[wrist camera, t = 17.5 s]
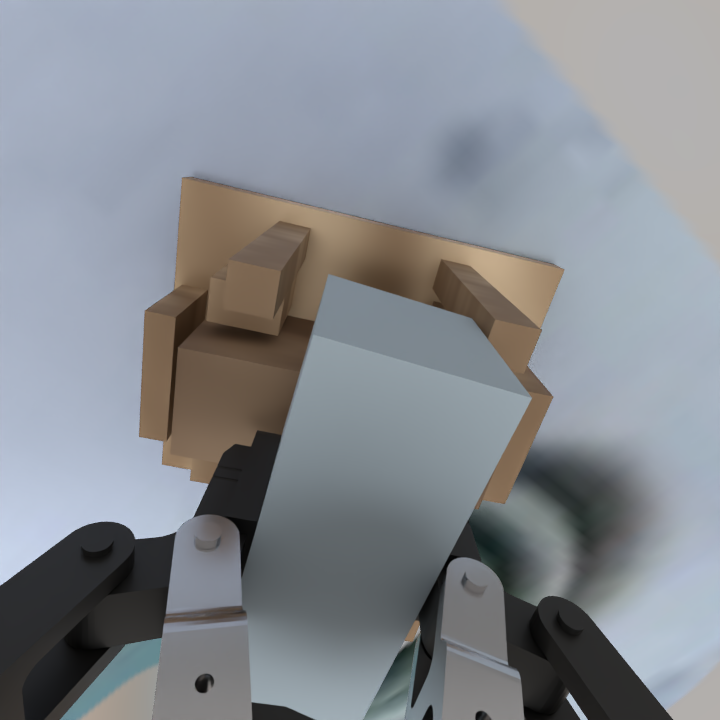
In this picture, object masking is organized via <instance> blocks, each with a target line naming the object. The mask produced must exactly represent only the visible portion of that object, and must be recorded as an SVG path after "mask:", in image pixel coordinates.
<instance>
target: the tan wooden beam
mask: <svg viewBox="0 0 720 720" xmlns="http://www.w3.org/2000/svg"><path fill="white" fill-rule="evenodd" d="M206 319H207V318H206ZM206 319H205V320H204V321H203V322H202V323H201V324H200V325H199V326H198V327H197V328H196V329H195V330H194V331H193V332H192V334H191V335H190V336H189V337H188V338H187V339H186V340H185V341H184V342H183V343H182V344H181V345H180V346H179V347H178V354H177V368H176V381H175V395H174V408H173V422H172V435H171V449H170V454H171V455H177V456H182V457H188V458H193V459H199V460H205V461H210V462H216V463H219V461H220V459H221V456H222V454H223V453H224V452H225V451H226V450H228V449H229V448H230V447H232V446H233V445H234V444H240V445H245V446H250V447H251V445H252V443H253V440H254V437H255V434H256V432H257V430H259V431H265V432H270V433H275V434H280V435H282V432H283V429H284V425H285V422H286V418H287V415H288V412H289V408H290V405H291V401H292V398H293V394H294V391H295V387H296V384H297V381H298V377H299V374H300V370H301V367H302V363H303V360H304V356H305V353H306V350H307V346H308V343H309V339H310V336H311V332H312V329H313V325H314V322H315V321H312V320H307V319H302V318H298V317H293V316H288V315H287V317H286V319H285V322H284V324H283V326H282V328H281V331H280V333H279V335H278V336H276V335H271V334H266V333H261V332H257V331H252V330H247V329H242V328H238V327H233V326H228V325H224V324H219V323H214V322H209V321H206ZM495 469H496V468H495ZM494 471H495V470H494ZM494 471H493V473H494ZM493 473H492V475H491V477H490V479H489V481H488V483H487V485H486V487H485V489H484V490H483V492H482V494H481V496H480V498H479V500H478V502H477V504H476V506H475V508H474V509H479V507H480V504H481V502H482V500H483V497H484V495H485V492H486V490H487V488H488V485H489V483H490V481H491V478H492V476H493Z"/></svg>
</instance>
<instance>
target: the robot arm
mask: <svg viewBox="0 0 720 720" xmlns="http://www.w3.org/2000/svg"><path fill="white" fill-rule="evenodd" d="M281 436H282V435H280V434H275V433H270V432H265V431H259V430H257V432H256V434H255V437H254V440H253V443H252V445H251V447H250V446H245V445H240V444H234V445H233V446H232V447H230V448H229V449H228V450H226V451H225V452H224V453H223V454H222V456H221V459H220V461H219V463H218V465H217V468H216V470H215V472H214V474H213V477H212V478H211V480H210V483H209V485H208V487H207V489H206V491H205V494H204V496H203V498H202V500H201V502H200V504H199V507H198V509H197V511H196V513H195V515H194V517H193V518H192V519H190V520H188V521H186V522H185V523H184V524H183V525H181V527H180V528H179V529H178V531H177V532H175V533H173V534H170V535H167V536H163V537H156V538H146V539H135V537H134V534H133V533H132V531H131V530H130V529H129V528H127V527H126V526H124V525H122V524H119V523H115V522H98V523H93V524H89V525H86V526H83V527H81V528H79V529H77V530H75V531H74V532H72V533H71V534H69V535H68V536H67V537H65V538H64V539H63V540H61V541H60V542H59V543H57V544H56V545H55V546H53V547H52V548H51V549H49V550H48V551H47V552H45V553H44V554H43V555H41V556H40V557H39V558H37V559H36V560H35V561H33V562H32V563H30V564H29V565H28V566H26V567H25V568H24V569H22V570H21V571H20V572H18V573H17V574H16V575H14V576H13V577H12V578H10V579H9V580H8V581H6V582H5V583H4V584H2V585H1V586H0V720H60V719H61V718H62V716H63V715H64V714H65V713H66V712H67V711H68V710H69V708H70V707H71V706H72V705H73V704H74V703H75V702H76V701H77V699H78V698H79V697H80V696H81V695H82V694H83V693H84V691H85V690H86V689H87V688H88V687H89V686H90V685H91V684H92V682H93V681H94V680H95V679H96V678H97V677H98V676H99V674H100V673H101V672H102V671H103V670H104V669H105V668H106V667H107V665H108V664H109V663H110V662H111V661H112V660H113V659H114V657H115V656H116V655H117V654H118V653H119V652H120V651H121V650H122V648H123V647H124V646H125V644H129V643H135V642H140V641H146V640H151V639H157V638H162V643H161V651H160V659H159V667H158V675H157V683H156V691H155V699H154V700H155V701H154V708H153V716H152V720H315V719H313V718H310V717H308V716H306V715H304V714H301V713H299V712H297V711H295V710H293V709H290V708H288V707H285V706H278V705H270V704H262V703H255V702H251V682H250V660H249V639H248V620H247V613H246V610H243V608H242V587H241V579H242V575H243V572H244V568H245V565H246V561H247V558H248V555H249V551H250V548H251V544H252V541H253V537H254V534H255V531H256V527H257V523H258V520H259V516H260V513H261V509H262V505H263V502H264V498H265V494H266V491H267V487H268V483H269V480H270V476H271V472H272V469H273V465H274V462H275V458H276V454H277V451H278V447H279V443H280V440H281ZM415 620H416V621H419V622H420V630H421V631H420V634H419V636H418V639H417V641H416V645H415V651H414V658H413V665H412V672H411V679H410V686H409V693H408V700H407V706H406V713H405V719H404V720H580V718H579V717H578V715H577V714H576V712H575V711H574V709H573V708H572V706H571V705H570V703H569V702H568V700H567V699H566V697H567V696H568V694H569V693H570V694H571V695H572V697H573V698H574V700H575V701H576V703H577V704H578V706H579V707H580V709H581V710H582V712H583V713H584V715H585V716H586V717H587V719H588V720H673V719H672V718H671V717H670V715H669V714H668V713H667V712H666V710H665V709H664V708H663V707H662V706H661V704H660V703H659V702H658V701H657V699H656V698H655V697H654V696H653V694H652V693H651V692H650V691H649V690H648V688H647V687H646V686H645V685H644V683H643V682H642V681H641V680H640V678H639V677H638V676H637V675H636V674H635V672H634V671H633V670H632V669H631V667H630V666H629V665H628V664H627V662H626V661H625V660H624V659H623V658H622V656H621V655H620V654H619V653H618V651H617V650H616V649H615V648H614V646H613V645H612V644H611V643H610V642H609V640H608V639H607V638H606V637H605V635H604V634H603V633H602V632H601V630H600V629H599V628H598V627H597V626H596V624H595V623H594V622H593V621H592V619H591V618H590V617H589V616H588V615H587V614H586V613H585V612H584V611H583V610H582V609H581V608H579V607H578V606H577V605H575V604H574V603H572V602H570V601H568V600H566V599H564V598H561V597H556V596H548V597H545V598H543V599H542V600H541V601H540V603H539V604H538V606H537V607H536V606H534V605H532V604H530V603H527V602H525V601H523V600H521V599H519V598H516V597H514V596H512V595H510V594H508V593H507V592H505V591H503V586H502V584H501V582H500V580H499V578H498V577H497V575H496V574H495V573H494V572H493V571H492V570H491V569H490V568H489V567H487V566H486V565H485V564H483V563H482V562H481V559H480V555H479V552H478V549H477V546H476V543H475V539H474V536H473V533H472V530H471V527H470V524H469V520H468V521H467V523H466V525H465V526H464V528H463V530H462V532H461V534H460V536H459V538H458V540H457V542H456V544H455V545H454V547H453V549H452V551H451V553H450V555H449V557H448V559H447V561H446V563H445V564H444V566H443V568H442V570H441V572H440V574H439V576H438V578H437V580H436V581H435V583H434V585H433V587H432V589H431V591H430V593H429V595H428V597H427V599H426V600H425V602H424V604H423V606H422V608H421V610H420V612H419V614H418V616H417V618H416V619H415Z"/></svg>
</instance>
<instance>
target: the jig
mask: <svg viewBox="0 0 720 720" xmlns="http://www.w3.org/2000/svg"><path fill="white" fill-rule="evenodd" d="M563 272H564V269H562V268H560V267H558V266H556V265H554V264H550V263H546V262H542V261H538V260H534V259H529V258H525V257H521V256H517V255H513V254H509V253H505V252H500V251H496V250H492V249H488V248H484V247H480V246H475V245H471V244H467V243H463V242H459V241H455V240H451V239H446V238H442V237H438V236H434V235H430V234H426V233H422V232H417V231H413V230H409V229H405V228H401V227H397V226H393V225H388V224H384V223H380V222H376V221H372V220H368V219H364V218H359V217H355V216H351V215H347V214H343V213H339V212H335V211H330V210H326V209H322V208H318V207H314V206H310V205H306V204H301V203H297V202H293V201H289V200H285V199H281V198H277V197H272V196H268V195H264V194H260V193H256V192H252V191H248V190H243V189H239V188H235V187H231V186H227V185H223V184H219V183H214V182H210V181H206V180H202V179H198V178H194V177H184V178H182V186H181V201H180V215H179V229H178V243H177V257H176V272H175V286H174V291H172V292H171V293H170V294H168V295H167V296H165V297H164V298H162V299H161V300H159V301H158V302H157V303H155V304H154V305H152V306H151V307H149V308H148V309H147V310H145V317H144V339H143V361H142V383H141V406H140V428H139V437H143V438H148V439H154V440H159V441H164V442H163V456H162V465H168V466H173V467H179V468H185V469H190V470H191V476H190V481H196V482H202V483H207V484H209V483H210V480H211V478H212V477H213V474H214V472H215V470H216V468H217V465H218V463H216V462H210V461H205V460H199V459H193V458H188V457H182V456H177V455H171V454H170V449H171V435H172V422H173V408H174V395H175V381H176V368H177V354H178V347H179V346H180V345H181V344H182V343H183V342H184V341H185V340H186V339H187V338H188V337H189V336H190V335H191V334H192V332H193V331H194V330H195V329H196V328H197V327H198V326H199V325H200V324H201V323H202V322H203V321H204V320H205V319H206V318H207V319H206V321H209V322H214V323H219V324H224V325H228V326H233V327H238V328H242V329H247V330H252V331H257V332H261V333H266V334H271V335H276V336H278V335H279V333H280V331H281V328H282V326H283V324H284V322H285V319H286V317H287V315H288V316H293V317H298V318H302V319H307V320H312V321H315V319H316V315H317V312H318V308H319V305H320V301H321V298H322V294H323V291H324V288H325V284H326V281H327V277H328V274H330V275H334V276H337V277H340V278H343V279H347V280H350V281H353V282H356V283H359V284H363V285H366V286H369V287H372V288H376V289H379V290H382V291H385V292H388V293H392V294H395V295H398V296H401V297H405V298H408V299H411V300H414V301H418V302H421V303H424V304H427V305H430V306H434V307H437V308H440V309H443V310H447V311H450V312H453V313H456V314H460V315H463V316H466V317H469V318H472V319H473V320H474V322H475V323H476V324H477V326H478V327H479V328H480V330H481V331H482V332H483V333H484V335H485V336H486V337H487V339H488V340H489V341H490V343H491V344H492V345H493V347H494V348H495V349H496V351H497V352H498V353H499V355H500V356H501V357H502V359H503V360H504V361H505V363H506V364H507V365H508V367H509V368H510V369H511V371H512V372H513V373H514V375H515V376H516V377H517V379H518V380H519V381H520V383H521V384H522V385H523V387H524V388H525V389H526V391H527V392H528V393H529V395H530V396H531V397H532V399H531V401H530V403H529V405H528V407H527V409H526V411H525V413H524V415H523V416H522V418H521V420H520V422H519V424H518V426H517V428H516V430H515V432H514V434H513V435H512V437H511V439H510V441H509V443H508V445H507V447H506V449H505V451H504V452H503V454H502V456H501V458H500V460H499V462H498V464H497V466H496V469H495V471H494V473H493V476H492V478H491V481H490V483H489V485H488V488H487V490H486V492H485V495H484V497H483V500H486V501H491V502H497V503H502V504H505V502H506V500H507V498H508V495H509V493H510V491H511V489H512V487H513V484H514V482H515V480H516V478H517V476H518V473H519V471H520V469H521V467H522V465H523V462H524V460H525V458H526V456H527V454H528V451H529V449H530V447H531V445H532V443H533V440H534V438H535V436H536V434H537V432H538V429H539V427H540V425H541V423H542V421H543V418H544V416H545V414H546V412H547V410H548V407H549V405H550V403H551V401H552V399H553V396H552V395H551V393H550V392H549V391H548V390H547V389H546V388H545V386H544V385H543V384H542V383H541V382H540V380H539V379H538V378H537V377H536V376H535V375H534V373H533V372H532V371H531V370H530V369H529V367H528V366H527V365H528V362H529V360H530V358H531V355H532V353H533V350H534V348H535V346H536V343H537V341H538V338H539V336H540V333H541V331H542V330H541V329H540V328H541V325H542V323H543V321H544V318H545V316H546V313H547V311H548V308H549V306H550V304H551V301H552V299H553V296H554V294H555V291H556V289H557V287H558V284H559V282H560V279H561V277H562V275H563ZM419 625H420V622H419V621H416V620H415V621H414V623H413V625H412V627H411V629H410V631H409V633H408V635H407V636H406V638H405V640H404V641H410V642H413V639H414V637H415V635H416V632H417V630H418V627H419Z"/></svg>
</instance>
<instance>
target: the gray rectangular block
mask: <svg viewBox="0 0 720 720" xmlns="http://www.w3.org/2000/svg"><path fill="white" fill-rule="evenodd" d="M531 399H532V397H531V396H530V395H529V393H528V392H527V391H526V389H525V388H524V387H523V385H522V384H521V383H520V381H519V380H518V379H517V377H516V376H515V375H514V373H513V372H512V371H511V369H510V368H509V367H508V365H507V364H506V363H505V361H504V360H503V359H502V357H501V356H500V355H499V353H498V352H497V351H496V349H495V348H494V347H493V345H492V344H491V343H490V341H489V340H488V339H487V337H486V336H485V335H484V333H483V332H482V331H481V330H480V328H479V327H478V326H477V324H476V323H475V322H474V320H473V319H472V318H469V317H466V316H463V315H460V314H456V313H453V312H450V311H447V310H443V309H440V308H437V307H434V306H430V305H427V304H424V303H421V302H418V301H414V300H411V299H408V298H405V297H401V296H398V295H395V294H392V293H388V292H385V291H382V290H379V289H376V288H372V287H369V286H366V285H363V284H359V283H356V282H353V281H350V280H347V279H343V278H340V277H337V276H334V275H330V274H328V277H327V281H326V284H325V288H324V291H323V294H322V298H321V301H320V305H319V308H318V312H317V315H316V319H315V322H314V325H313V329H312V332H311V336H310V339H309V343H308V346H307V350H306V353H305V356H304V360H303V363H302V367H301V370H300V374H299V377H298V381H297V384H296V387H295V391H294V394H293V398H292V401H291V405H290V408H289V412H288V415H287V418H286V422H285V425H284V429H283V432H282V436H281V440H280V443H279V447H278V451H277V454H276V458H275V462H274V465H273V469H272V472H271V476H270V480H269V483H268V487H267V491H266V494H265V498H264V502H263V505H262V509H261V513H260V516H259V520H258V523H257V527H256V531H255V534H254V537H253V541H252V544H251V548H250V551H249V555H248V558H247V561H246V565H245V568H244V572H243V575H242V579H241V587H242V608H243V610H246V613H247V620H248V639H249V660H250V682H251V702H255V703H262V704H270V705H278V706H285V707H288V708H290V709H293V710H295V711H297V712H299V713H301V714H304V715H306V716H308V717H310V718H313V719H315V720H363V718H364V716H365V714H366V712H367V710H368V709H369V707H370V705H371V703H372V701H373V699H374V697H375V695H376V693H377V692H378V690H379V688H380V686H381V684H382V682H383V680H384V678H385V676H386V674H387V673H388V671H389V669H390V667H391V665H392V663H393V661H394V659H395V657H396V655H397V654H398V652H399V650H400V648H401V646H402V644H403V642H404V640H405V638H406V636H407V635H408V633H409V631H410V629H411V627H412V625H413V623H414V621H415V619H416V618H417V616H418V614H419V612H420V610H421V608H422V606H423V604H424V602H425V600H426V599H427V597H428V595H429V593H430V591H431V589H432V587H433V585H434V583H435V581H436V580H437V578H438V576H439V574H440V572H441V570H442V568H443V566H444V564H445V563H446V561H447V559H448V557H449V555H450V553H451V551H452V549H453V547H454V545H455V544H456V542H457V540H458V538H459V536H460V534H461V532H462V530H463V528H464V526H465V525H466V523H467V521H468V519H469V517H470V515H471V513H472V511H473V509H474V508H475V506H476V504H477V502H478V500H479V498H480V496H481V494H482V492H483V490H484V489H485V487H486V485H487V483H488V481H489V479H490V477H491V475H492V473H493V471H494V470H495V468H496V466H497V464H498V462H499V460H500V458H501V456H502V454H503V452H504V451H505V449H506V447H507V445H508V443H509V441H510V439H511V437H512V435H513V434H514V432H515V430H516V428H517V426H518V424H519V422H520V420H521V418H522V416H523V415H524V413H525V411H526V409H527V407H528V405H529V403H530V401H531Z"/></svg>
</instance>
